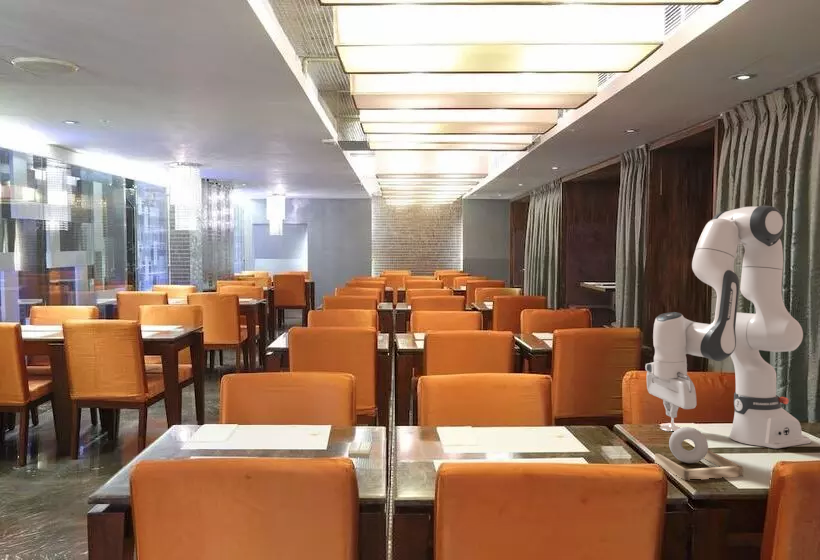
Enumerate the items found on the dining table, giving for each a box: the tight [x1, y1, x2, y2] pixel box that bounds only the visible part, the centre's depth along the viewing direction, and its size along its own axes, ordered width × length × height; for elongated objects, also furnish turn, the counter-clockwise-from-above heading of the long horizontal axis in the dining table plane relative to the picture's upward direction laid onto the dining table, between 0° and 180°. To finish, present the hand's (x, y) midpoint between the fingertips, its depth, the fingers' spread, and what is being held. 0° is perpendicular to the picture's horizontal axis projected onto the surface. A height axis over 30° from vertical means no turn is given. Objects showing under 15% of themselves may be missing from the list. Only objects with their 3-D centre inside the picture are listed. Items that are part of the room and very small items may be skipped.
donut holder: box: [654, 449, 744, 481], centre depth 175 cm, size 16×14×2 cm
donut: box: [668, 426, 709, 464], centre depth 180 cm, size 10×4×10 cm, turn 65°
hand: (671, 416), depth 188 cm, fingers closed
